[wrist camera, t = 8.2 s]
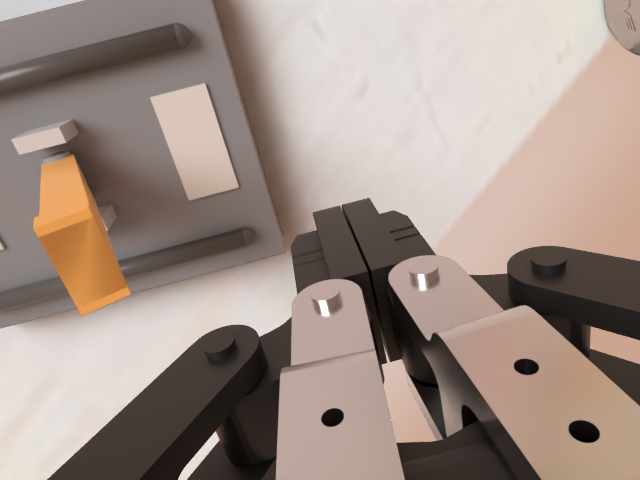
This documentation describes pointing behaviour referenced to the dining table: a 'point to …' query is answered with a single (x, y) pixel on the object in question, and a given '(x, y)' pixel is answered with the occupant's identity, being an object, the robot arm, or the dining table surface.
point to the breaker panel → (128, 145)
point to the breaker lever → (77, 235)
